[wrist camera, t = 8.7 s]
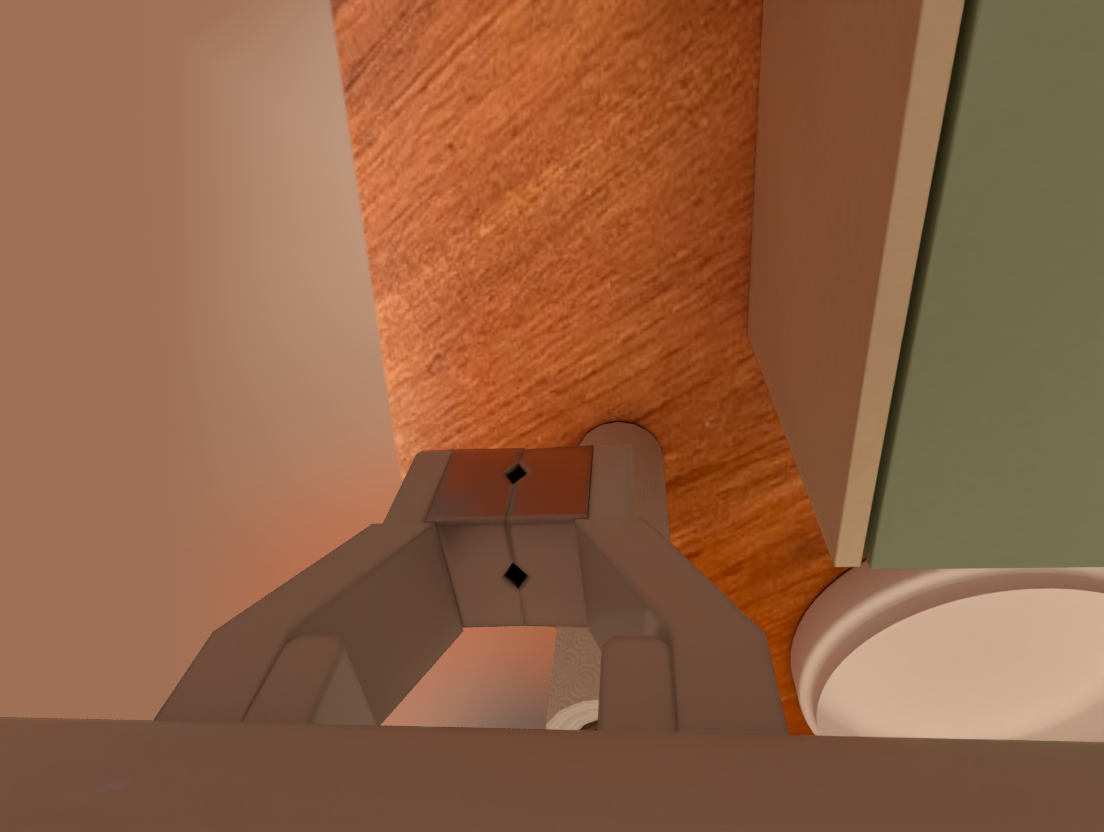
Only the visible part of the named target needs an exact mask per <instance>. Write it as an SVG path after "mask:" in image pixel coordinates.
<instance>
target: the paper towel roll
mask: <svg viewBox="0 0 1104 832" xmlns="http://www.w3.org/2000/svg"><path fill="white" fill-rule="evenodd" d="M622 442H630V443H631V445H632V453H633V471H634V489H635V507H636V518H645V519H646V520H647V521H648V522H649V523H650V524H651V525H652V526H654V527H655V528H656V529H657V530H658V531H659V532H660V533H661V534H662V535H663V536H664V537H665V538H666V539H667V540H668V541H669V542H670V536H669V523H668V511H667V499H666V486H665V474H664V462H663V456H662V452H661V448H660V445H659V443H658V442H657V441H656V440H655V438H654V437H653V436H652V435H651V434H650V432H648V431H646V430H645V429H643V428H641V427H639V426H637V425H635V424H630V423H622V422H614V423H609V424H604V425H600V426H599V427H597V428H595V429H594V430H592V431H590V432H589V433H587V435H586V436H585V437H584V439H583V440H582V442H581V443H580V445H579V446H586V445H593V446H595V444H609V443H622ZM600 670H601V650H600V648H599V647H598V645H597V643H596V642H595V640H594V639H593V637H592V635H591V634H590V632H589V630H588V627H557V634H556V643H555V651H554V660H553V668H552V677H551V686H550V694H549V704H548V712H547V721H546V729H555V730H597V725H598V707H599V689H600Z"/></svg>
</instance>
